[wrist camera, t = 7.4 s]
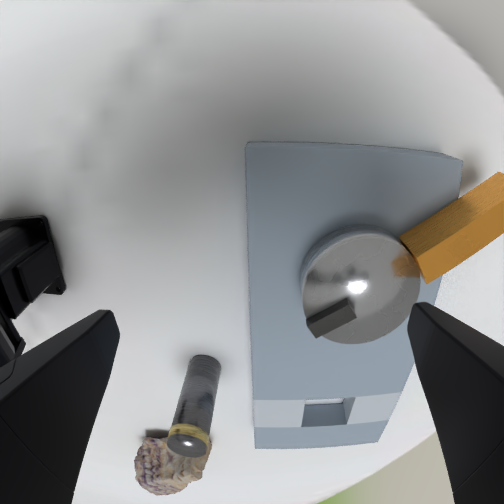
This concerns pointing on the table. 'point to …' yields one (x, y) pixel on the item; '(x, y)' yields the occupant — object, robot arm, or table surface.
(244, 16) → the table surface
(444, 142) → the table surface
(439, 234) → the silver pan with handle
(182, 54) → the table surface
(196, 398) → the pin
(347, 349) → the plate
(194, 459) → the mineral specimen
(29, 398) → the robot arm
